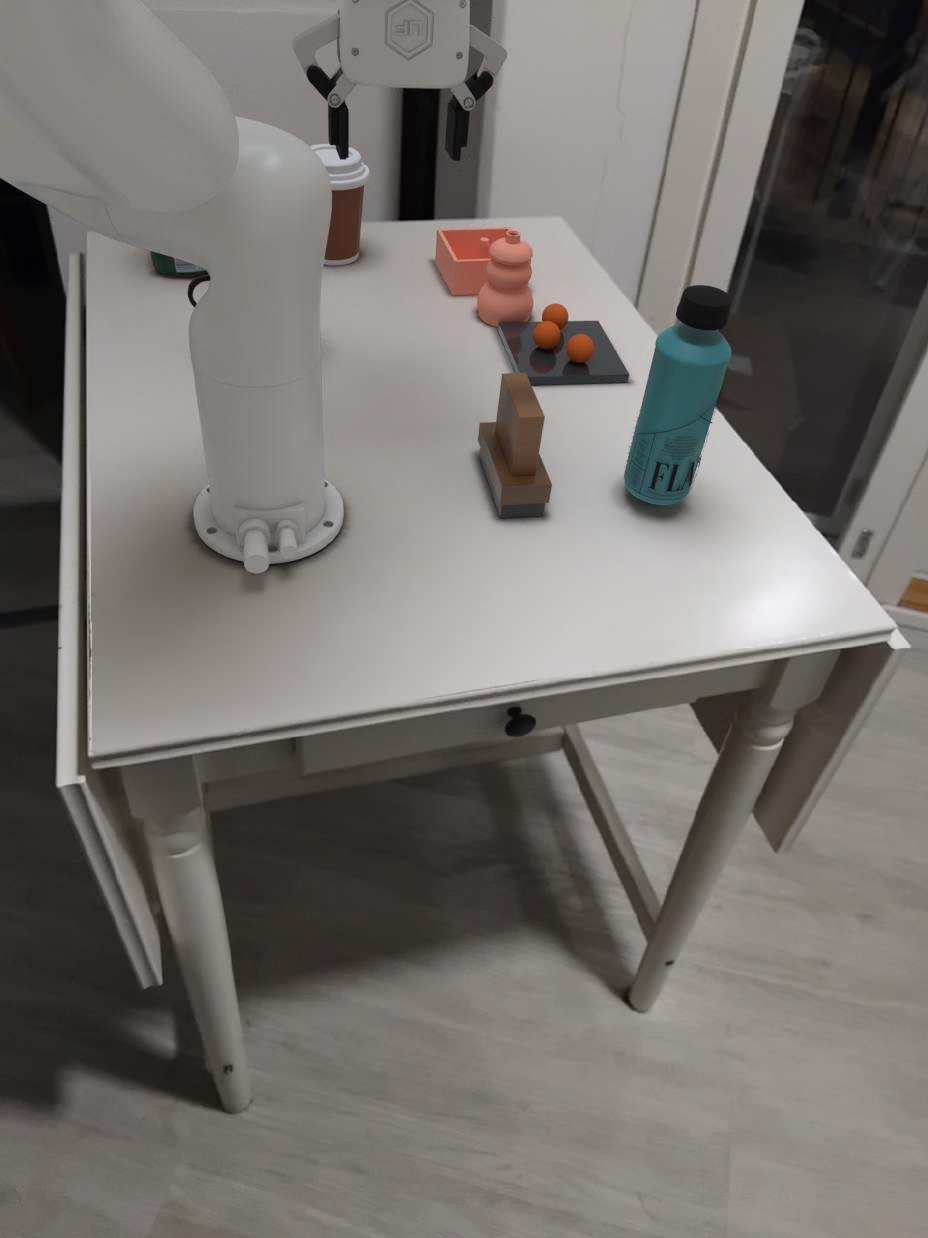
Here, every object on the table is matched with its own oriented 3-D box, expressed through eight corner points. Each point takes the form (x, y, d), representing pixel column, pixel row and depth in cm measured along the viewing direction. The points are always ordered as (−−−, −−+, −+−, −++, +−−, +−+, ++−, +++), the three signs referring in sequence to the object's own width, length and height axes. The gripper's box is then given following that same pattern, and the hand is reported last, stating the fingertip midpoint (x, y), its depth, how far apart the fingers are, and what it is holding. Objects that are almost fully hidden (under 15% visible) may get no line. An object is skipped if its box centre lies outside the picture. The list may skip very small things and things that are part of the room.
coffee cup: (307, 273, 115) (303, 170, 106) (288, 241, 121) (283, 141, 112) (378, 266, 118) (380, 165, 109) (356, 236, 123) (356, 138, 115)
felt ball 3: (595, 367, 102) (600, 342, 100) (568, 368, 102) (572, 343, 100) (587, 353, 104) (592, 328, 102) (561, 354, 104) (565, 329, 102)
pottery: (435, 262, 120) (439, 182, 113) (506, 259, 122) (515, 180, 115) (471, 331, 108) (478, 246, 101) (549, 327, 110) (562, 244, 103)
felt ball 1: (569, 335, 107) (573, 310, 105) (543, 336, 106) (547, 311, 104) (562, 322, 109) (566, 298, 107) (537, 323, 108) (540, 298, 106)
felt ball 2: (561, 354, 104) (565, 329, 102) (534, 354, 103) (538, 329, 101) (554, 340, 106) (558, 315, 104) (528, 341, 105) (532, 315, 103)
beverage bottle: (634, 523, 85) (689, 315, 71) (607, 479, 89) (653, 276, 75) (699, 515, 87) (765, 311, 73) (669, 473, 91) (726, 272, 77)
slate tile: (627, 382, 103) (629, 374, 102) (520, 385, 100) (522, 377, 100) (596, 328, 111) (598, 320, 110) (497, 329, 109) (498, 321, 108)
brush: (546, 517, 85) (563, 425, 78) (497, 519, 84) (510, 427, 77) (521, 452, 92) (534, 363, 85) (476, 454, 91) (485, 364, 84)
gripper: (292, -91, 65) (301, 169, 77) (532, -75, 69) (505, 171, 81) (282, -109, 70) (291, 138, 82) (506, -93, 74) (484, 141, 86)
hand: (397, 154), depth 81 cm, fingers open, 9 cm apart
